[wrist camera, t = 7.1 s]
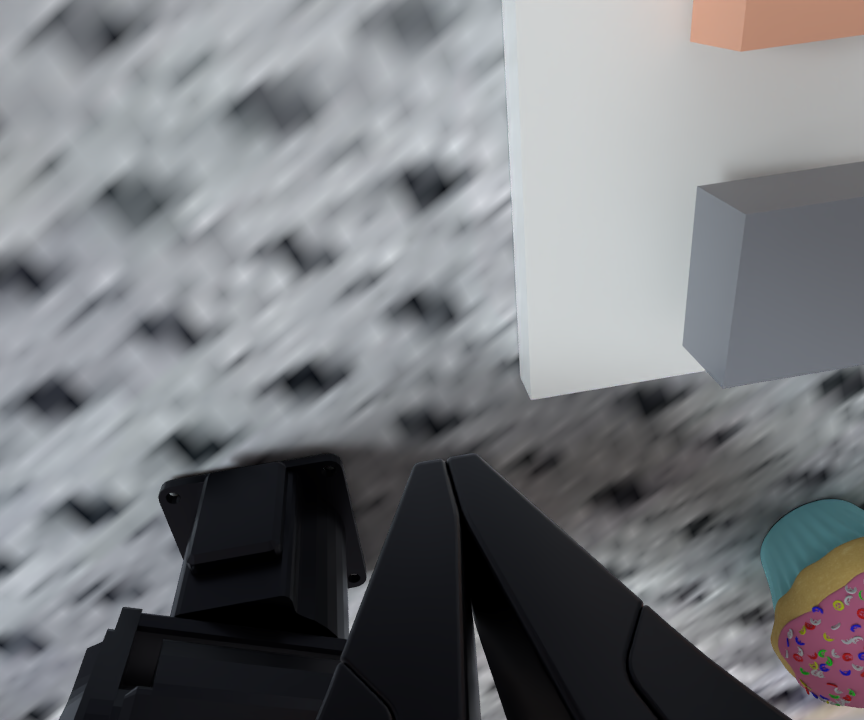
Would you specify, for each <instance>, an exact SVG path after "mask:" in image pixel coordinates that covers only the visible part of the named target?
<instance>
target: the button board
mask: <svg viewBox="0 0 864 720" xmlns="http://www.w3.org/2000/svg"><path fill="white" fill-rule="evenodd" d="M692 10H693V0H502V14H503V35H504V55H505V76H506V96H507V117H508V137H509V158H510V178H511V199H512V219H513V240H514V260H515V281H516V302H517V322H518V343H519V363H520V378H521V380H522V382H523V384H524V386H525V388H526V390H527V392H528V395H529V397H530V399H531V400H535V399H541V398H547V397H553V396H559V395H565V394H571V393H577V392H583V391H589V390H595V389H601V388H607V387H613V386H619V385H625V384H631V383H637V382H643V381H648V380H654V379H660V378H666V377H672V376H678V375H684V374H690V373H696V372H702V371H706V370H705V369H704V368H703V367H702V366H701V365H700V364H699V363H698V362H697V361H696V360H695V359H694V357H693V356H692V355H691V354H690V353H689V352H688V351H687V350H686V349H685V348H684V347H683V346H682V344H683V333H684V322H685V311H686V301H687V290H688V279H689V268H690V257H691V246H692V235H693V225H694V214H695V203H696V192H697V186H701V185H708V184H715V183H721V182H728V181H735V180H741V179H748V178H755V177H761V176H768V175H775V174H781V173H788V172H795V171H801V170H808V169H815V168H822V167H828V166H835V165H842V164H848V163H855V162H862V161H864V35H859V36H851V37H844V38H837V39H830V40H822V41H815V42H808V43H801V44H793V45H786V46H779V47H772V48H764V49H757V50H750V51H742V52H740V51H734V50H729V49H724V48H719V47H714V46H709V45H704V44H699V43H694V42H690V36H691V23H692Z"/></svg>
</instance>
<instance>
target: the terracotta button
mask: <svg viewBox="0 0 864 720" xmlns="http://www.w3.org/2000/svg"><path fill="white" fill-rule="evenodd" d="M859 35H864V0H693V10H692V23H691V36H690V42H694V43H699V44H704V45H709V46H714V47H719V48H724V49H729V50H734V51H740V52H742V51H750V50H757V49H764V48H772V47H779V46H786V45H793V44H801V43H808V42H815V41H822V40H830V39H837V38H844V37H851V36H859Z"/></svg>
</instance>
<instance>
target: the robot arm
mask: <svg viewBox="0 0 864 720" xmlns="http://www.w3.org/2000/svg"><path fill="white" fill-rule="evenodd" d="M326 466H332V467H334V469H332V470H325V469H323V468H324V467H326ZM169 493H177V494H179V496H172V495H170V494H169ZM158 498H159V502H160V505H161V507H162V509H163V512H164V514H165V517H166V519H167V522H168V524H169V526H170V529H171V531H172V534H173V536H174V538H175V541H176V543H177V546H178V548H179V551H180V553H181V555H182V558H183V564H182V569H181V573H180V577H179V581H178V585H177V590H176V594H175V598H174V602H173V606H172V610H171V615H170V616H163V615H155V614H147V613H142V609H137V608H129V607H123V608H122V611H121V614H120V617H119V619H118V622H117V625H116V628H115V630H114V629H108V630H107V632H106V635H105V638H104V640H103V642H101V643H99V644H96V645H94V646H92V647H90V648H87V650H86V653H85V656H84V659H83V661H82V664H81V667H80V670H79V673H78V676H77V679H76V681H75V684H74V687H73V690H72V692H71V695H70V697H69V700H68V702H67V704H66V707H65V709H64V711H63V713H62V714H61V716H60V718H59V720H481V712H480V698H479V685H478V671H477V657H476V644H475V633H474V624H473V616H474V621H475V624H476V628H477V631H478V634H479V637H480V641H481V644H482V647H483V650H484V653H485V655H486V658H487V661H488V664H489V667H490V670H491V673H492V676H493V679H494V682H495V685H496V688H497V691H498V694H499V697H500V700H501V703H502V706H503V709H504V712H505V715H506V718H507V720H792V719H791V718H789V717H788V716H787V715H785V714H784V713H782V712H781V711H780V710H778V709H777V708H775V707H774V706H773V705H771V704H770V703H769V702H767V701H766V700H764V699H763V698H762V697H760V696H759V695H757V694H756V693H755V692H753V691H752V690H751V689H749V688H748V687H747V686H745V685H744V684H743V683H741V682H740V681H739V680H737V679H736V678H735V677H733V676H732V675H731V674H729V673H728V672H727V671H725V670H724V669H723V668H722V667H720V666H719V665H718V664H716V663H715V662H714V661H712V660H711V659H710V658H708V657H707V656H706V655H705V654H703V653H702V652H701V651H700V650H699V649H698V648H696V647H695V646H694V645H693V644H692V643H690V642H689V641H688V640H687V639H686V638H684V637H683V636H682V635H681V634H680V633H679V632H677V631H676V630H675V629H674V628H673V627H671V626H670V625H669V624H668V623H667V622H666V621H665V620H663V619H662V618H661V617H660V616H659V615H658V614H657V613H656V612H655V611H653V610H652V609H651V608H650V607H649V606H647V605H644V606H643V602H642V600H641V599H640V598H639V597H637V596H636V595H635V594H634V593H633V592H632V591H631V590H630V589H628V588H627V587H626V586H625V585H624V584H623V583H622V582H621V581H619V580H618V579H617V578H616V577H615V576H614V575H613V574H612V573H610V572H609V571H608V570H607V569H606V568H605V567H604V566H603V565H601V564H600V563H599V562H598V561H597V560H596V559H595V558H594V557H592V556H591V555H590V554H589V553H588V552H587V551H586V550H585V549H583V548H582V547H581V546H580V545H579V544H578V543H577V542H576V541H574V540H573V539H572V538H571V537H570V536H569V535H568V534H567V533H565V532H564V531H563V530H562V529H561V528H560V527H559V526H558V525H556V524H555V523H554V522H553V521H552V520H551V519H550V518H549V517H547V516H546V515H545V514H544V513H543V512H542V511H541V510H540V509H538V508H537V507H536V506H535V505H534V504H533V503H532V502H531V501H529V500H528V499H527V498H526V497H525V496H524V495H523V494H522V493H520V492H519V491H518V490H517V489H516V488H515V487H514V486H513V485H511V484H510V483H509V482H508V481H507V480H506V479H505V478H504V477H502V476H501V475H500V474H499V473H498V472H497V471H496V470H495V469H493V468H492V467H491V466H490V465H489V464H488V463H487V462H486V461H484V460H483V459H482V458H481V457H480V456H479V455H477V454H475V453H470V454H464V455H459V456H453V457H449V458H448V459H447V461H446V462H445V461H444V460H443V459H435V460H430V461H424V462H418V463H416V464H415V465H414V467H413V469H412V471H411V474H410V477H409V479H408V482H407V484H406V487H405V490H404V492H403V495H402V498H401V500H400V503H399V505H398V508H397V511H396V513H395V516H394V518H393V521H392V524H391V526H390V529H389V532H388V534H387V537H386V539H385V542H384V545H383V547H382V550H381V553H380V555H379V558H378V560H377V563H376V566H375V568H374V571H373V574H372V576H371V579H370V581H369V584H368V587H367V589H366V592H365V594H364V597H363V600H362V602H361V605H360V608H359V610H358V613H357V615H356V618H355V621H354V623H353V626H352V629H351V631H350V634H349V615H348V588H353V587H357V586H360V585H362V584H363V583H364V582H365V581H366V567H365V562H364V558H363V553H362V549H361V544H360V540H359V535H358V531H357V526H356V522H355V517H354V513H353V508H352V504H351V499H350V495H349V490H348V486H347V481H346V477H345V472H344V468H343V463H342V461H341V459H340V458H339V457H338V456H337V455H334V454H322V455H316V456H310V457H304V458H299V459H293V460H287V461H281V462H272V463H266V464H260V465H254V466H248V467H242V468H236V469H231V470H225V471H219V472H213V473H210V474H204V475H198V476H192V477H187V478H181V479H175V480H170V481H167V482H165V483H164V484H163V485H162V487H161V490H160V493H159V496H158ZM351 574H356V575H351ZM472 612H473V615H472Z"/></svg>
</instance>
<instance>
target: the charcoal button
mask: <svg viewBox="0 0 864 720" xmlns="http://www.w3.org/2000/svg"><path fill="white" fill-rule="evenodd" d="M682 346H683V347H684V348H685V349H686V350H687V351H688V352H689V353H690V354H691V355H692V356H693V357H694V359H695V360H696V361H697V362H698V363H699V364H700V365H701V366H702V367H703V368H704V369H705V370H706V371H707V372H708V373H709V374H710V375H711V376H712V378H713V379H714V380H715V381H716V382H717V383H718V384H719V385H720V386H721V387H722V388H723V389H724V388H729V387H735V386H741V385H747V384H753V383H759V382H765V381H771V380H777V379H782V378H788V377H794V376H800V375H806V374H812V373H818V372H824V371H830V370H835V369H841V368H847V367H853V366H859V365H864V161H862V162H855V163H848V164H842V165H835V166H828V167H822V168H815V169H808V170H801V171H795V172H788V173H781V174H775V175H768V176H761V177H755V178H748V179H741V180H735V181H728V182H721V183H715V184H708V185H701V186H697V192H696V203H695V214H694V225H693V235H692V246H691V257H690V268H689V279H688V290H687V301H686V311H685V322H684V333H683V344H682Z"/></svg>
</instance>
